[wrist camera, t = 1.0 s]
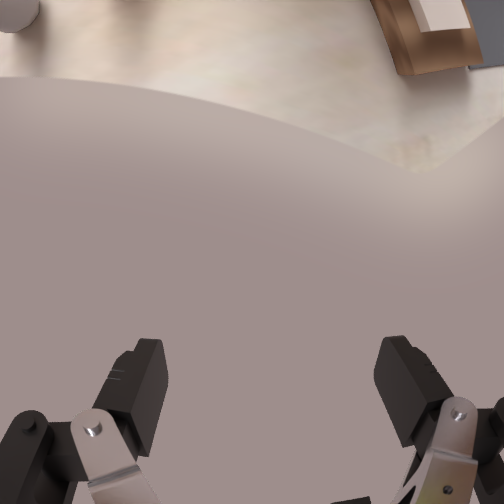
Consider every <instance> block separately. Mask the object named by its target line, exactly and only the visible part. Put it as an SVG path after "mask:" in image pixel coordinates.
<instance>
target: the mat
mask: <svg viewBox="0 0 504 504" xmlns="http://www.w3.org/2000/svg"><path fill="white" fill-rule="evenodd" d="M464 1H465V3H466V6H467V9H468V11H469V14H470V17H471V20H472V23H473V26H474V29H475V32H476V35H477V39H478V42H479V46H480V49H481V53H482V57H483V61H484V64H477V65H470V66H468V67H469V69H474V68H481V67H488V66H496V65H504V0H464Z"/></svg>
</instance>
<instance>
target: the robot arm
mask: <svg viewBox="0 0 504 504" xmlns="http://www.w3.org/2000/svg"><path fill="white" fill-rule="evenodd" d="M374 381H375V385H376V387H377V389H378V391H379V394H380V396H381V398H382V400H383V402H384V405H385V407H386V409H387V412H388V414H389V416H390V419H391V421H392V423H393V425H394V428H395V430H396V433H397V435H398V437H399V439H400V442H401V444H402V447H403V448H404V447H408V446H412V445H414V446H415V448H416V450H415V452H414V454H413V456H412V459H411V461H410V464H409V466H408V469H407V471H406V474H405V476H404V479H403V481H402V483H401V486H400V488H399V490H398V492H397V494H396V496H395V497H394V499H393V500H392V502H391V504H469V503H470V498H471V495H472V491H473V487H474V490H475V492H476V495H477V497H478V500H479V502H480V504H504V462H503V460H502V458H501V456H500V454H499V453H500V452H501V450H502V449H503V448H504V397H503V398H501V399H500V400H498V402H497V403H496V405H495V407H494V408H491V409H477V408H476V407H475V405H474V404H473V403H472V402H471V401H469V400H468V399H466V398H463V397H454V395H453V393H452V392H451V390H450V389H449V387H448V386H447V384H446V383H445V381H444V380H443V378H442V377H441V375H440V374H439V373H438V372H437V370H436V368H435V367H434V365H432V362H431V361H430V359H429V358H428V357H427V355H426V354H425V353H423V352H422V351H421V350H419V349H418V348H417V347H412V346H411V344H410V343H409V341H408V340H407V338H406V337H405V336H403V335H401V336H392V337H385V338H384V339H383V341H382V344H381V347H380V351H379V355H378V358H377V361H376V365H375V368H374ZM167 387H168V370H167V365H166V360H165V355H164V349H163V344H162V341H161V340H159V339H143V338H141V339H139V341H138V343H137V345H136V347H135V349H134V351H126V352H125V353H123V354H122V355H121V356H120V357H118V358H117V359H116V361H115V363H114V365H113V367H112V371H110V373H109V375H108V379H106V381H105V383H104V385H103V387H102V389H101V391H100V393H99V395H98V397H97V399H96V401H95V403H94V405H93V407H92V409H87V410H84V411H82V412H80V413H78V414H77V415H76V416H75V417H74V419H73V420H72V421H71V422H48V421H47V419H46V417H45V416H44V415H43V414H42V413H40V412H38V411H34V410H29V411H24V412H22V413H20V414H19V415H17V416H16V417H15V418H14V420H13V421H12V423H11V424H10V426H9V428H8V430H7V432H6V434H5V436H4V437H3V439H2V441H1V443H0V504H72V501H73V497H74V494H75V490H76V487H77V484H78V481H89V483H88V488H89V491H90V493H91V496H92V498H93V500H94V502H95V504H162V503H161V501H160V500H159V498H158V497H157V495H156V494H155V492H154V491H153V489H152V487H151V486H150V484H149V483H148V481H147V479H146V478H145V476H144V474H143V473H142V471H141V470H140V468H139V466H138V465H137V464H136V461H137V458H138V456H144V457H149V453H150V449H151V446H152V442H153V438H154V434H155V430H156V427H157V423H158V420H159V416H160V412H161V409H162V405H163V401H164V398H165V394H166V391H167ZM331 504H371V501H370V497H369V496H368V497H363V498H358V499H352V500H346V501H341V502H334V503H331Z"/></svg>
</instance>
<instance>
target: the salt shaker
mask: <svg viewBox="0 0 504 504" xmlns="http://www.w3.org/2000/svg"><path fill="white" fill-rule="evenodd" d="M38 14H39V0H0V31H1V32H4V33H16V32H17V31H19V30H21V29H23V28H25V27H27V26H29V25H31V23H32V22H33V21H34V19H35V18H36V16H37V15H38Z"/></svg>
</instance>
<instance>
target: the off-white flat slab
mask: <svg viewBox="0 0 504 504" xmlns="http://www.w3.org/2000/svg"><path fill="white" fill-rule="evenodd" d="M409 3H410V5H411V8H412V10H413V13H414V15H415V18H416V20H417V23H418V26H419V29H420V31H421V32H428V31H438V30H449V29H462V28H471V27H470V24H469V21H468V18H467V15H466V13H465V10H464V7H463V5H462V2H461V0H409Z"/></svg>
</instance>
